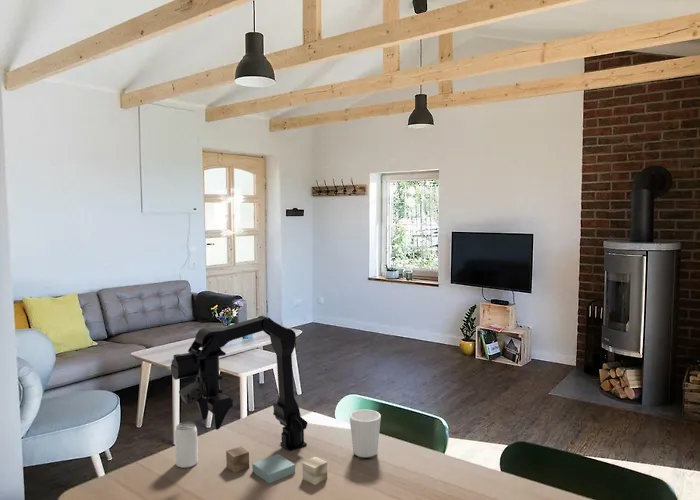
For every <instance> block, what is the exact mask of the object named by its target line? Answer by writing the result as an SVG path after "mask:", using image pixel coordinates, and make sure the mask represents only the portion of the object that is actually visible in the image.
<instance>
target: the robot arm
mask: <svg viewBox="0 0 700 500" xmlns="http://www.w3.org/2000/svg"><path fill="white" fill-rule="evenodd" d="M260 332H264V333H265V334H267V336H269V338H270V343H271V347H272V349H273V350H274V353H275V355H276V369H277V383H278V384H277V386H278V399H277V402H273V403H272V406H273V407H272V408H273V413H272V414H273V416H274V417H275V419H276V420H277V421H279V424H280V425H281V426H283V427H282V431H281V442H279V443H280V445H281V446H283V447H284V448H285V449H287V450H289V451H293V450H296V449H300V448H302V447H305V446H307V445H308V443H307V442H305V430H306V429H307V428H308V427H307V426H308V421H307V420H305V419H304V418H303V417H302V416H301V411H300V407H299V406H300V405H298V402H297V400H296V399H295V391H294V389H295V388H294V375H293V371H294V370H293V356H292V355H293V353H294V350H295V347H296V341H297V340H296V339H297V336H296V332H295V331H294V330H293V329H291V328H289V327H286V326H283V325H280V324H279V323H277V322H276V321H274V320H272V318H270V317H268V316H265V315H258V316H257V317H255V318H251V319H248V320H244V321H241V322H236V323H234V324H230V325H227V326H221V327H220V326H219V327H218V326H215V327H214V326H213V327H204V328H200V329H199V330H198V331H197V333H196V334H195V337H194V341H193V342H192V343H191V345H190V347H189V348H188V350H187V352H186V353H182V354H179V353H177V354H173V359H172V360H171V363H170V364H171V365H170V371H171V372H170V373H171V376H172V378H173V379H174V380H175V381H177V380H180V379H185V378H190V377H195V376H196V377H195V381H194V382H192V383H189V384H188V385H186V386H184V387H183V388H181V389H180V390H179V391H178V393H179V396H180V398H181V400H182V402H184V403H185V404H186V405H191V404H192V403H194V402H196V404H197V407H198V409H199V412H200V416H201V419H202V420H207V418H208V415H209V412H210V413H211V414H212V419H213V424H214V429H215V430H217V431H218V430H220V428H221V427H222V424H223V422H224V419H225V417H226V416H227V414H228V412H229V410H230V409H231V408H233V407H234V399H233V398H231V397H230V396H228V395H227V394H223V388H221V387H220V386H221V383H220V381H221V380H222V379H223V375H222V374H221V373H220V357H223V356H226V355H227V353H226V352H225V351H223V349H222V348H223V347H225V346H226V345H228V343H230V342H231V341H235V340H237V339H240V338H244V337H247V336H251V335H254V334H256V333H260ZM200 348H201V349H200ZM197 374H198V375H197ZM219 394H220V395H219Z"/></svg>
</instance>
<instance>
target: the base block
mask: <svg viewBox="0 0 700 500" xmlns="http://www.w3.org/2000/svg"><path fill="white" fill-rule="evenodd" d="M252 473H254V474H255V475H257V476H258V477H259V478H260V479H262V480H264V481H265V482H266V483H268V484H269V485H270V484H272V483H274V482H277V481H279V480H282V479H284V478H286V477H289V476H292V475H294V474H296V464H295V463H294V462H292V461H290V460H288V459H287V458H285V457H283V456H282V455H280V454H279V453H277V454H274V455H271V456H269V457H266V458H264V459H261V460H258V461H255V462H253V463H252Z"/></svg>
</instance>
